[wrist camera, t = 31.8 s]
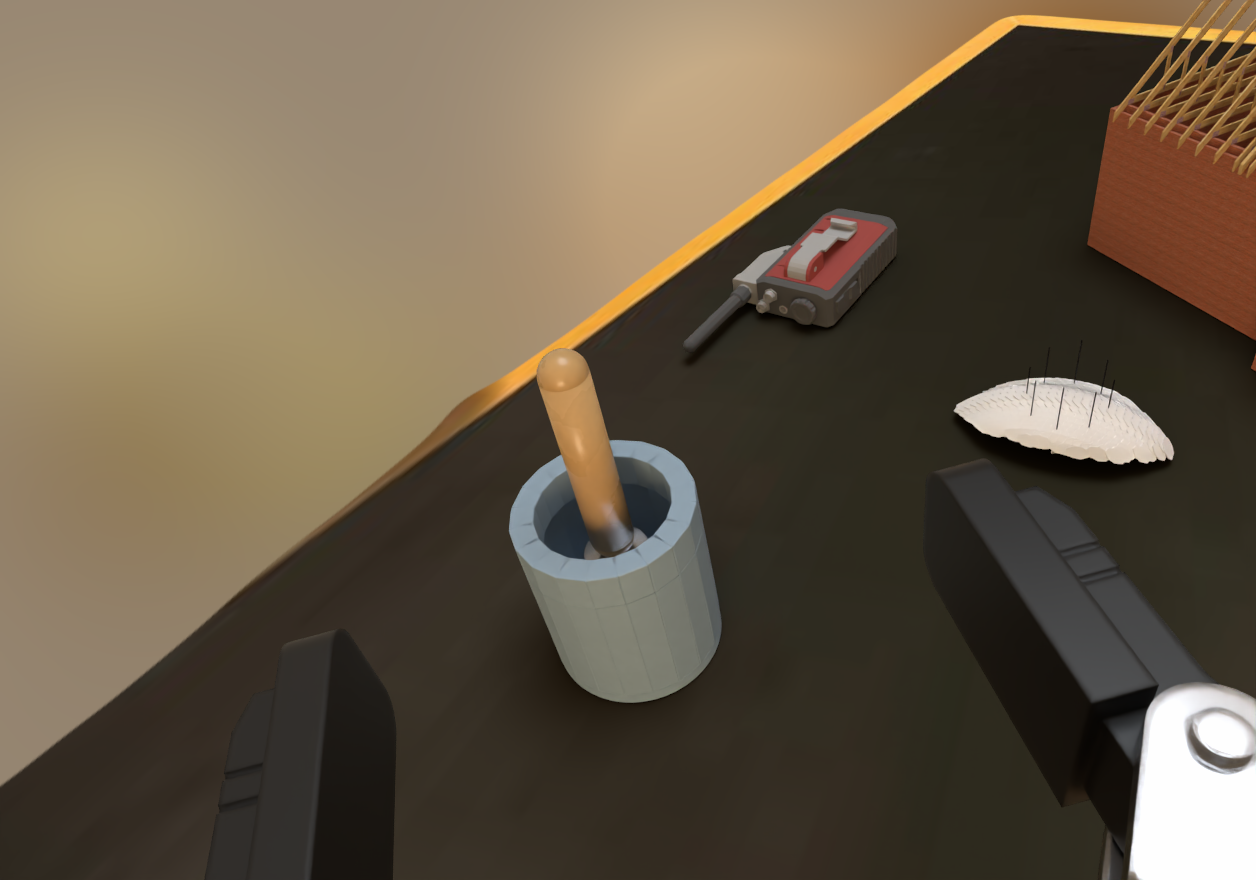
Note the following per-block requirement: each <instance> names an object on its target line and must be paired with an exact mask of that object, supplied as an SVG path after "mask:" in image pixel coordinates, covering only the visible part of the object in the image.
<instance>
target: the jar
mask: <svg viewBox="0 0 1256 880" xmlns="http://www.w3.org/2000/svg"><path fill="white" fill-rule="evenodd" d="M609 442H610V446H611V449H612V453H613V457H614V460H615V464H616V467H617V471H618V475H619V478H620V482H621V485H622V489H623V493H624V496H625V500H626V504H627V507H628V511H629V514H630V518H631V522H632V525H633V526H634V527H636V528H639V529H640V530H642V531H643V532H644V533H645V534H646V535H647V537H648V540H646V541H645V542H643V543H642V544H641V545H639V546H638V547H636V548H635V549H633V550H630V551H628V552H625V553H623V554H620V555H617V556H615V557H610V558H603V559H597V560H583V552H584V548H585V546H586V544H587V542H588V541H589V536H588V533H587V530H586V527H585V524H584V521H583V518H582V515H581V512H580V509H579V506H578V503H577V500H576V497H575V494H574V491H573V488H572V485H571V482H570V479H569V476H568V473H567V470H566V467H565V464H564V461H563V458H562V455H560V456H558V457H557V458H555V459H554V460H552V461H551V462H549V463H547V464H546V465H544V466H543V467H541V468H540V469H539V470H538V471H537V472H536V473H535V474H534V475H533V476H532V477H531V478H530V479H529V480H528V481H527V482H526V483H525V484H524V485H523V487H522V489H521V490H520V492H519V494H518V496H517V498H516V500H515V502H514V504H513V506H512V509H511V515H510V525H509V533H510V536H511V539H512V542H513V545H514V548H515V551H516V553H517V555H518V558H519V560H520V563H521V565H522V567H523V570H524V572H525V574H526V577H527V579H528V582H529V584H530V586H531V589H532V591H533V594H534V596H535V598H536V601H537V603H538V606H539V608H540V610H541V613H542V615H543V617H544V620H545V622H546V625H547V627H548V629H549V632H550V634H551V637H552V639H553V641H554V644H555V646H556V649H557V651H558V653H559V656H560V658H561V661H562V662H563V664H564V666H565V668H566V670H567V671H568V673H569V675H570V676H571V677H572V678H573V679H574V681H575V682H576V683H577V684H579V685H580V686H581V687H582V688H583V689H585V690H587V691H588V692H590V693H592V694H594V695H596V696H598V697H601V698H604V699H607V700H611V701H616V702H626V703H636V702H646V701H650V700H655V699H658V698H661V697H664V696H667V695H669V694H672V693H674V692H676V691H678V690H679V689H681V688H683V687H684V686H686V685H687V684H689V683H690V682H691V681H692V680H694V679H695V678H696V677H697V676H698V675H699V674H700V673H701V672H702V671H703V670H704V669H705V667H706V666H707V665H708V663H709V662H710V660H711V659H712V657H713V655H714V653H715V651H716V649H717V646H718V644H719V640H720V636H721V626H722V624H721V614H720V609H719V602H718V596H717V591H716V586H715V581H714V576H713V571H712V566H711V561H710V556H709V551H708V546H707V541H706V536H705V531H704V526H703V521H702V516H701V511H700V506H699V501H698V496H697V491H696V486H695V482H694V479H693V477H692V476H691V474H690V473H689V471H688V469H687V468H686V466H685V464H684V463H683V462H682V461H681V460H679V459H678V458H677V457H675V456H674V455H672V454H671V453H670V452H668V451H667V450H665V449H663V448H660V447H657V446H654V445H651V444H648V443H645V442H638V441H621V440H616V441H615V440H612V441H609Z"/></svg>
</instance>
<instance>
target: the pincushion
mask: <svg viewBox="0 0 1256 880" xmlns="http://www.w3.org/2000/svg"><path fill="white" fill-rule="evenodd" d="M1081 346H1082V340H1081V345H1080V350H1079V356H1078V362H1077V367H1076V373H1075V378H1074V380H1073V379H1071V380H1069V379H1065V378H1064V379H1061V378H1057V377H1056V378H1045V377H1046V371H1047V364H1048V358H1049V351H1050V347H1049V350H1048V357H1047V363H1046V370H1045V376H1044V378H1030V379H1029V376H1030V369H1031V367H1030V368H1029V375H1028V379H1026V380H1020V381H1013V382H1007V384H1002V385H996V388H990V389H989V391H983V392H985V393H981V394H979V395H975V396H974V397H971V398H969V399H966V400H965V401H963V402H961V403H959V404H957V406H956V408H955V410H954V412H956V413H958V414H959V415H960V416H961V417H963V418H964V420H966V421H967V422H969V423H971V424H973V426H974V427H976V428H977V429H978V430H979V431H981V432H982V433H984V434H989V435H990V436H994V437H998V438H999V437H1007V438H1008V439H1009V440H1012V441H1015V442H1019V443H1020V444H1021V445H1023V446H1026V447H1029V448H1032V447H1035V448H1038V449H1051V454H1054V453H1058V454H1062V455H1066V456H1070V457H1071V458H1075V459H1080V460H1081V459H1085V458H1089V457H1090V458H1093V459H1095V460H1096V461H1101V462H1106V461H1107V460H1110V461H1111V462H1113V463H1114V464H1123V463H1124V462H1127V463H1129V462H1130V461H1131V460H1134V458H1135V459H1137V460H1138V461H1139V462H1142V463H1146V464H1147V463H1148V462H1149V461H1151V462H1155V460H1156V457H1157V458H1158V460H1162V461H1165V459H1166V456H1167V458H1168V459H1170V460H1172V459H1173V455H1174V451H1173V447H1172V444H1171V442H1170V440H1169V439H1168V438H1167V437H1166V436H1165V434H1164V433H1163V432H1162V431H1161V429H1160V428H1159V427H1157V426H1156V424H1155V423H1154V422H1153V421H1152V419H1151V418H1150V417H1149V416H1148V415H1147V414H1146V413H1143V412H1142V411H1141V410H1140V409H1139V408H1138V407H1137V406H1136V405H1135V404H1134V403H1133V402H1132V401H1131V400H1129V399H1128V398H1126V397H1125V396H1121V395H1120V394H1119V393H1117V392H1116V391H1113V388H1114V383H1115V380H1114V382H1113V386H1112V390H1111V389H1107V388H1105V387H1103V384H1104V379H1105V375H1106V370H1107V365H1108V360H1107V364H1106V368H1105V373H1104V378H1103V383H1102V387H1101V386H1098V385H1095V384H1091V383H1088V382H1086V383H1085V382H1082V381H1076V380H1075V379H1076V374H1077V368H1078V363H1079V357H1080V352H1081Z"/></svg>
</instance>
